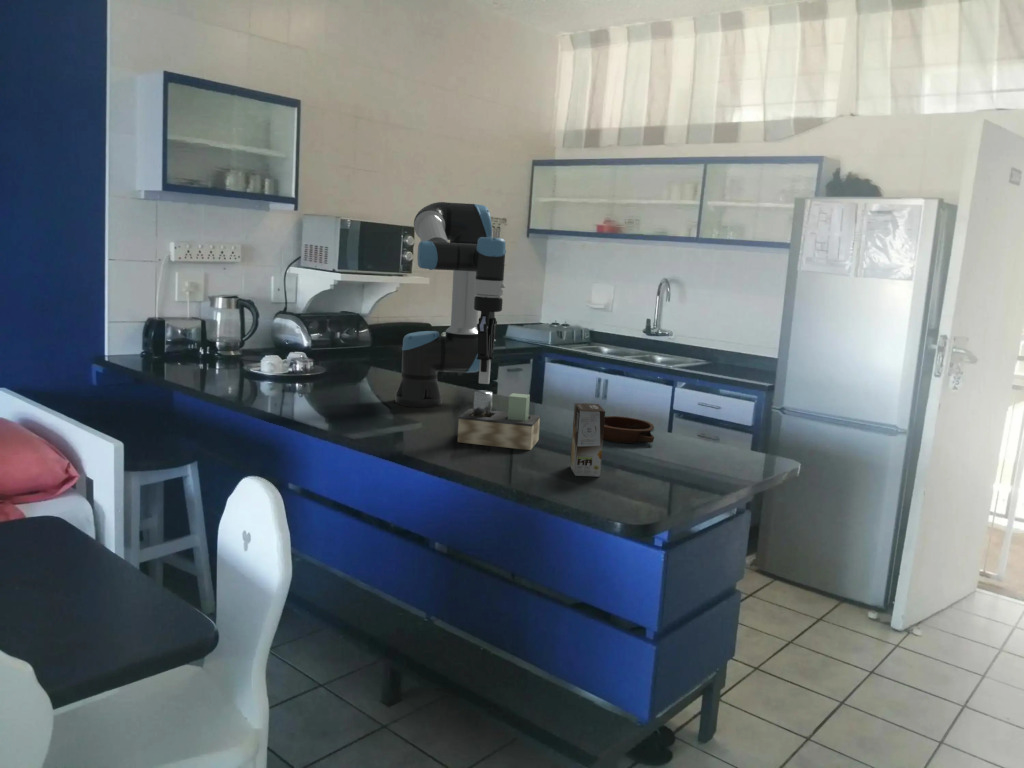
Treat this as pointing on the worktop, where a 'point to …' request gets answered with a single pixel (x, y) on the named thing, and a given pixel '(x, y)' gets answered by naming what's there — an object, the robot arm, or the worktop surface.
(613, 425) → the dish
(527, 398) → the sage peg
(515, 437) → the socket block
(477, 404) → the metal peg
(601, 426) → the coffee box
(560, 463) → the worktop surface
